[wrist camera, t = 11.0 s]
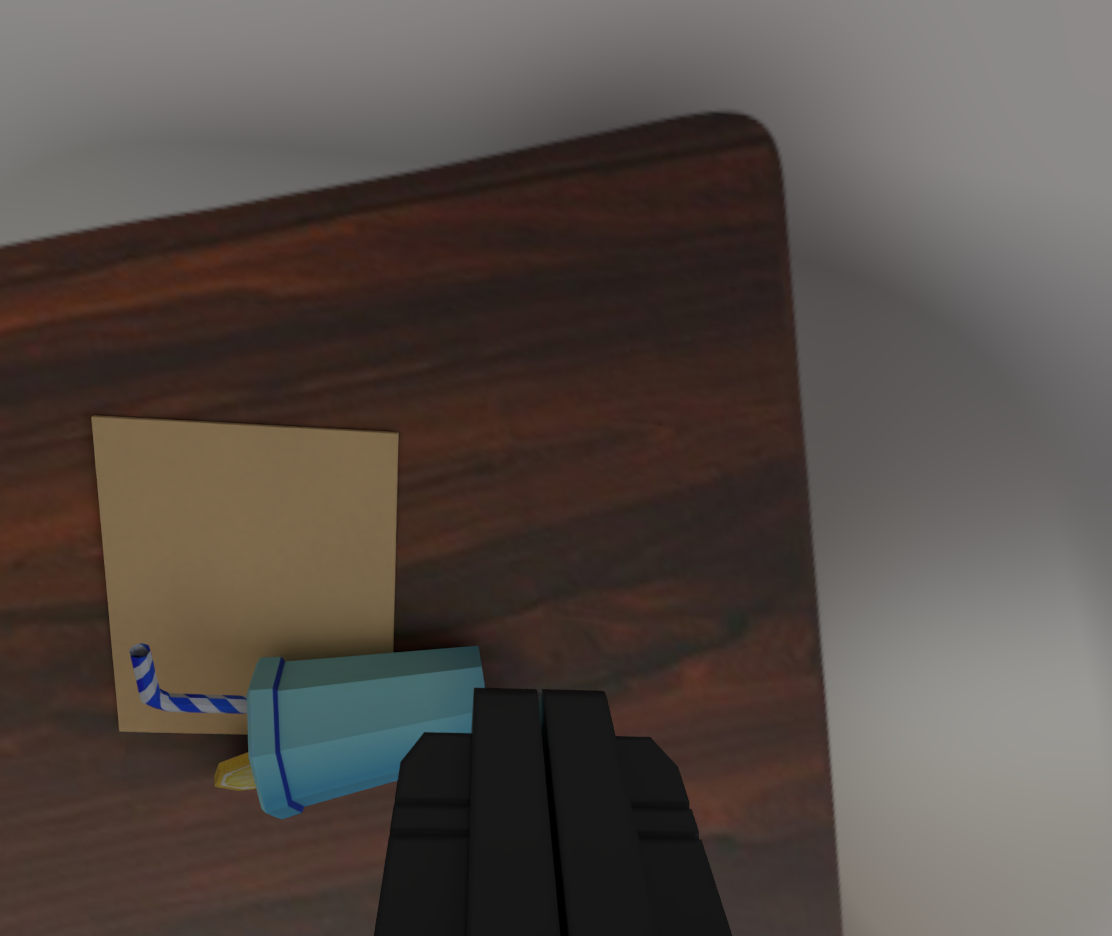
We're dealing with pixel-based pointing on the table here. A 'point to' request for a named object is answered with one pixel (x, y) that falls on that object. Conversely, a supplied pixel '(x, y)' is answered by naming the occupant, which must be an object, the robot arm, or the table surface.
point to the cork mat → (241, 553)
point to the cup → (330, 719)
